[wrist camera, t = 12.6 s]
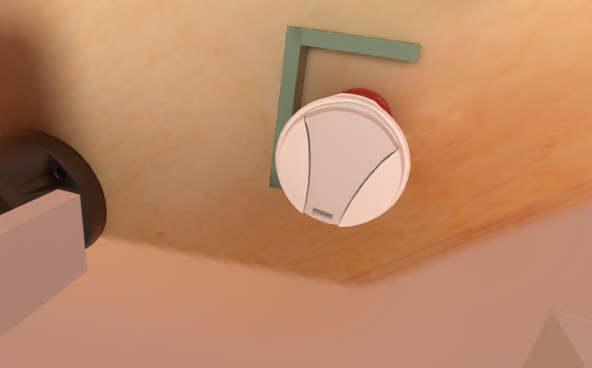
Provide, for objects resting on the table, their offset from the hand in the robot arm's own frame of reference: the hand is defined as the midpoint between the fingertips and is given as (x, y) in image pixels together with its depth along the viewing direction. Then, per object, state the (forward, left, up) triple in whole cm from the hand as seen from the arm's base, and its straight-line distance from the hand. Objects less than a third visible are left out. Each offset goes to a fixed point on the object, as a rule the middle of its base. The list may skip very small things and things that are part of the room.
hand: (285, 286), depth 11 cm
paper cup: (0, 0, -25) cm, 25 cm away
